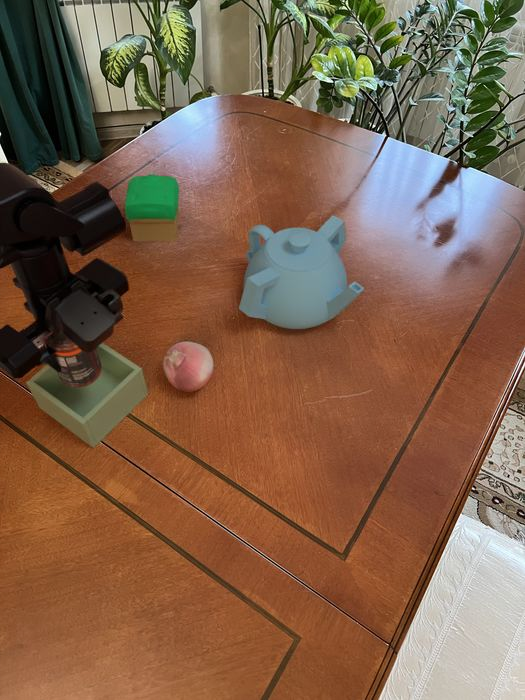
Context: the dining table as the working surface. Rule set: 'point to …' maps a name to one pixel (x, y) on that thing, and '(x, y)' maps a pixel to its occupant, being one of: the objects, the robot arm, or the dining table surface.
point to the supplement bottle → (74, 361)
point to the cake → (153, 208)
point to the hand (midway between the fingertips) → (75, 355)
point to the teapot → (297, 276)
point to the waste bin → (92, 396)
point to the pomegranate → (188, 366)
